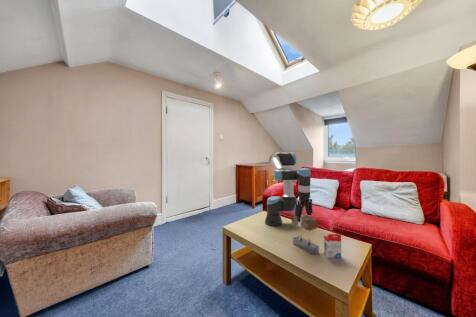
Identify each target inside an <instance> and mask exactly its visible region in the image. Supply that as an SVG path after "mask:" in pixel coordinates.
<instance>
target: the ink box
mask: <svg viewBox="0 0 476 317" xmlns="http://www.w3.org/2000/svg"><path fill="white" fill-rule="evenodd" d="M323 255H324V256H326V258H328V259H329V258H330V259H333V258H342V234H341V233H328V234H327V235H323Z"/></svg>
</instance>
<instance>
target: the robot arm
mask: <svg viewBox="0 0 476 317" xmlns="http://www.w3.org/2000/svg"><path fill="white" fill-rule="evenodd" d="M268 162H269V164H270V165H271V167H272V168H273V179H274V180H275V181H283V195H282V196H276V195H274V196H270V197H268V198H267V200H266V217H265V219H264V223H265V225H268V226H271V227H279V226H282V225H283V220H282V217H281V213H283V212H284V213H287V212H288V213H294V214H295V216H297V221H298V225H297V227H299V228H302V217H301V214H303V211H304V208H305V212H306V213H305V215H306V216H309V217H311V216H312V214H313V199H312V198H311V175H312V173H311V169H310V168H308V167H307V168H304V167H301V168H297V169H293V168H295V165H296V164H297V156H296V154H295V153H294V152H293V151H276V152H273V153H272V154H270V156H269V158H268ZM294 181H298V184H297V186H298V187H297V188H298V190H297V191H298V193H297V196H298V198H296V195H295V194H294V193H295V192H294Z"/></svg>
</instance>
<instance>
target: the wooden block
mask: <svg viewBox="0 0 476 317" xmlns="http://www.w3.org/2000/svg"><path fill="white" fill-rule="evenodd" d="M301 217H302V227H301V228H303V229H304V230H307V231H309V232H310V231H313V230H317V229H318V219H317V218H314V217H311V216H310V217H309V216H306V214H303V213H302V214H301ZM291 224H294V225H295V226H298V221H297V216H295V213H292V214H291Z"/></svg>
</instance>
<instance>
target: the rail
mask: <svg viewBox="0 0 476 317" xmlns="http://www.w3.org/2000/svg"><path fill="white" fill-rule="evenodd" d="M292 244H294V245H295V246H297V247H299V248H300V249H302V250H303V251H305V252H307V253H309V254H310V255H312V256H313V255H316V254H318V253H319V252H320V246H319V245H317V244H315V243H314V242H312V241H311V238H310V237H308V238H305V237H303V234H302V233H299V235H298V236H295V237H293V238H292Z"/></svg>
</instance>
